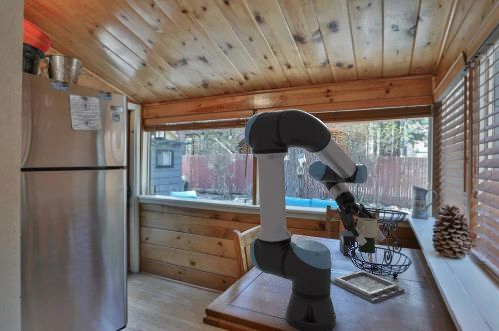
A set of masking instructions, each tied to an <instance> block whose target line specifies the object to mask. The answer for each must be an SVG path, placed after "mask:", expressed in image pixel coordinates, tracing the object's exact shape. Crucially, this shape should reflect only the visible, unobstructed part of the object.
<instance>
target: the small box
mask: <svg viewBox="0 0 499 331" xmlns="http://www.w3.org/2000/svg"><path fill="white" fill-rule="evenodd" d="M350 241H351V244H350ZM352 245H353V246H354V248H355V250H352V251H351V254H352V255H353V256H352V257H356V237H355V236H354V235H353V233H352V232H351V231H350V232H349V231H348V230H345V231H343V230H342V231H339V251H340V253H341V254H342V256H344V257H345V256H346V257H350V256H349V254H348V252H349V249H348V247H349V248H350V249H351V248H352ZM347 246H348V247H347Z"/></svg>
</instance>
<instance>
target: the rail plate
mask: <svg viewBox="0 0 499 331" xmlns="http://www.w3.org/2000/svg"><path fill="white" fill-rule="evenodd" d="M331 283H332V284H333V285H335V286H338V287H339V288H342V289H344V290H346V291H348V292H350V293H352V294H354V295H356V296H358V297H360V298H362V299H364V300H366V301H368V302H371V303H373V304H375V303H378V302H380V301H383V300H386V299H388V298H390V297H393V296H396V295H400V294H402V293H405V288H403V287H400V286H399V284H398V283H395V282H392V281H391V280H388V279H385V278H382V277H380V276H378V275H375V274H372V273H370V272H368V271H365V270H362V269H361V270H359V271H355V272H352V273H349V274H348V273H347V274H343V275H340V276H337V277H335V278H331Z"/></svg>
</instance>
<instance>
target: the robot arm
mask: <svg viewBox="0 0 499 331" xmlns="http://www.w3.org/2000/svg"><path fill="white" fill-rule="evenodd" d="M244 140H245V143H246V144H247V146H248V147H249V148H251V149H252V155H253V156H254V157H255V158H256V159H257V169H258V170H257V171H258V176H257V177H258V193H259V214H260V215H259V216H260V230H259V231H258V232H257V233H256V237H255V238H254V239H253V241H252V242H251V246H250V249H249V250H250V252H249V256H250V261H251V263H252V265H253V267H254V268H255V269H257V270H258V271H261V272H263V273H265V274H268V275H272V276H276V277H278V278H282V279H284V280H288V281H291V294H290V296H289V301H288V304H287V306H286V308H285V318H286V321H287V322H288V323H289V324H290V326H292V327H293V328H295V329H298V330H301V331H331V330H333V328H335V326H336V324H337V313H336V311H335V307H334V304H333V300H332V298H331V289H332V288H331V286H332V285H331V279H332V266H333V265H332V264H333V263H332V257H331V254H332V252H331V250H330V249H329V247H328V246H327V245H325V244H324V243H322V242H319V241H316V240H313V239H306V238H298V239H295V240H294V241H292V233H291V232H290V231H289V230H288V229H287V210H286V209H287V207H286V182H285V180H286V179H285V178H286V177H285V157H286V156H287V155H288V154H289V149H290V148H297V149H304V150H306V151H307V152H308V153H311V154H315V155H316V156H317V157H318V158H319V159H320V160H314V161H312V162H311V163H310V164H309V166H308V174H309V176H310V177H312V179H314V180H316V181H317V182H319V183H321V184H322V185H324V187H325V189H326V190H327V191H328V193H329V194H330V195H331V197H332V198H333V200H334V201H335V203H336V205H337V206H338V207H337V208H336V211H337V213H338V214H339V217H340V219H341V223H342V225H343V228H344V230H345V231H349V232H350V231H351V232H352V233H353V235H354V236H355V237H356V238H355V240H357V241H358V244H359V243H360V245H361V246H363V245H364V244H365V243H366V242H367V241H366V240H365V238H364V237H363V235H362V234H361V232H360V231H359V229H358V226H356V225H355V219H354V216H355V217H356V218H357V217H358V218H370V219H375V220H377V224H378V222H379V220H378V219H377V218H376V217H375V216H374V215H373V214H372V213H371V211H369V210H368V209H367V208H366V207H365V206H364V204H363V203H361V202H360V204H357V203H356V197H355V196H354V195H353V193H352V192H351V191H350V189H349V187H348V186H347V185H346V184H355V185H357V184H362V185H363V184H364V183H366V181H367V180H368V179H367V178H368V173H369V172H368V168H367V166H366V164H364V163H363V164H362V163H355V162H354V161H353V159H352V158H351V157H350V156H349V155H348V154H347V152H345V151H344V149H343V148H342V147H341V146H340V145H339V143H337V141H336V140H335V139H334V138H333V137H332V132H331V130H330V129H329V128H328V126H327V125H326V124H325V123H324V122H323V121H321V120H320V119H319V118H317V117H315V115H313V114H310V113H308V112H306V111H304V110H301V109H296V108H295V109H292V108H291V109H283V110H282V109H281V110H272V111H263V112H260V113H255V114H253V115H252V116H250V118H249V119H248V121H246V124H245V128H244ZM376 238H377V240H378V241H379V242H380V243H382V242H383V241H384V240H385V239H386V236H385V235H384V234H383V232H382V231H381V229H380V228H379V226H378V225H377V237H376Z"/></svg>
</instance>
